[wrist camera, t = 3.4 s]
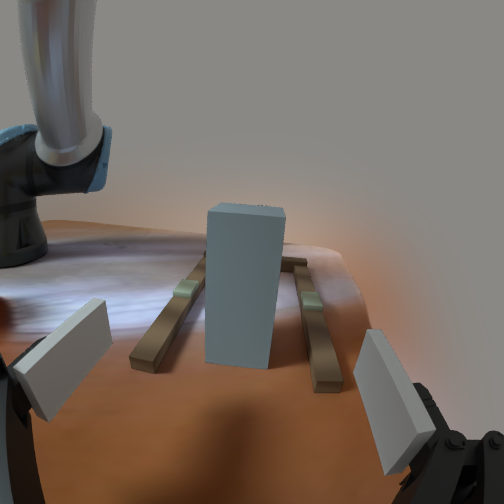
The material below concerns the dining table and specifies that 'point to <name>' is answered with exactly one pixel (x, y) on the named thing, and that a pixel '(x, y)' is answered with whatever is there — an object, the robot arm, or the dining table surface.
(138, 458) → the dining table surface
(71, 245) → the dining table surface
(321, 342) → the brown u-shaped frame
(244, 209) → the blue-grey tall rectangular block
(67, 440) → the dining table surface
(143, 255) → the dining table surface
